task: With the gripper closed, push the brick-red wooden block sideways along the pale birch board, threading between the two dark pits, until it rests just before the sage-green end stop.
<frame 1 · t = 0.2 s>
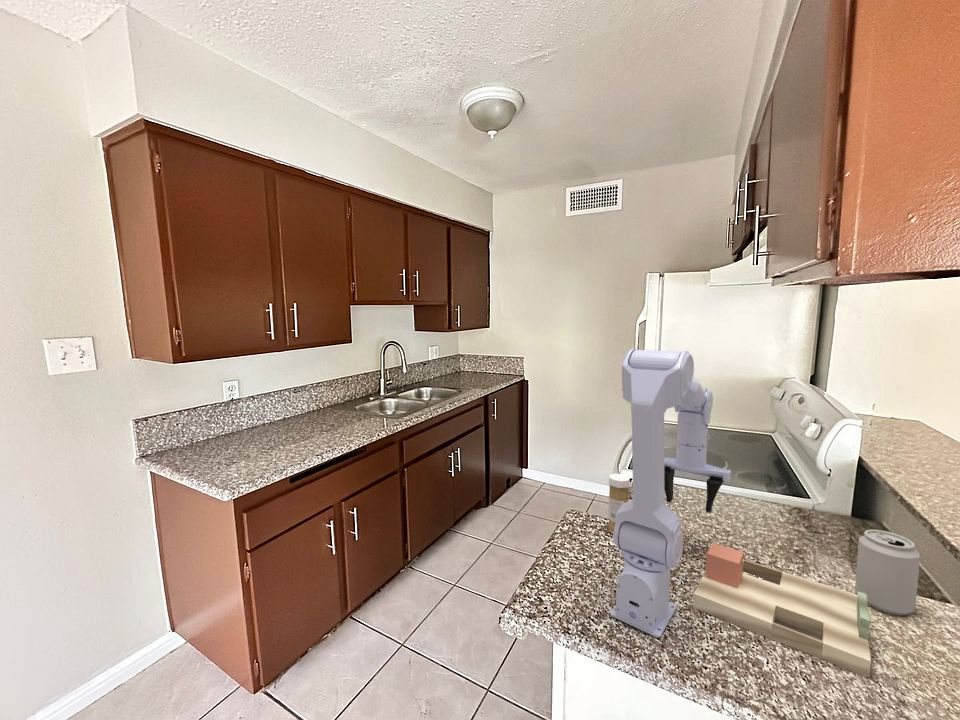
hand: (688, 505, 88), 10 cm above the worktop, tool pointing down, fingers open, 7 cm apart
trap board: (777, 608, 70), on the worktop
sprinkles bottle: (617, 533, 96), on the worktop
can: (883, 604, 72), on the worktop
block: (724, 576, 75), point 2 cm above the worktop, touching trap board
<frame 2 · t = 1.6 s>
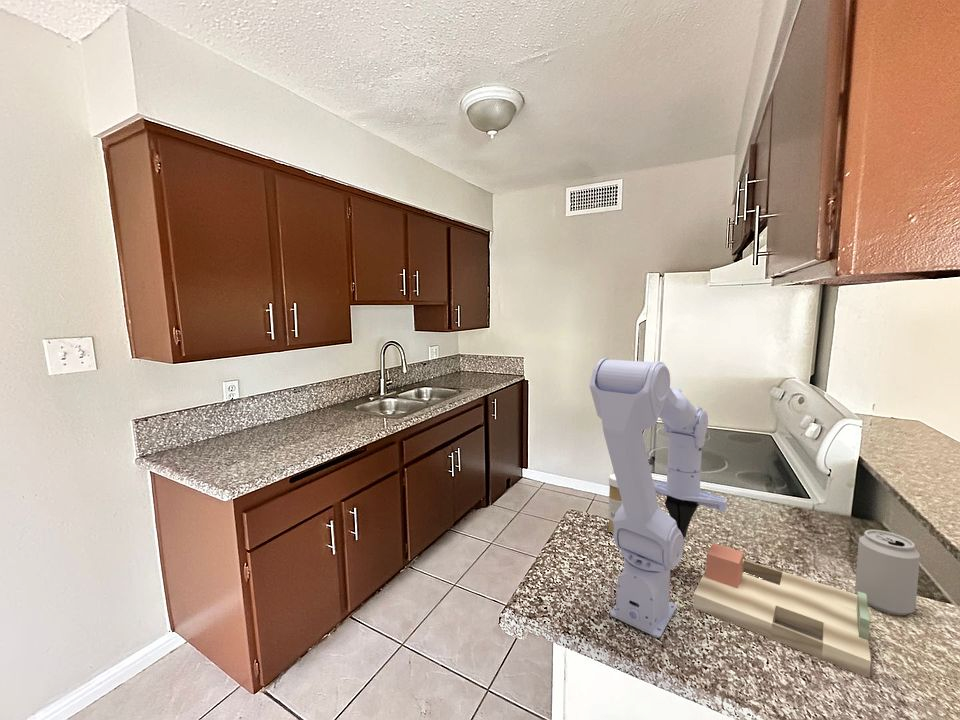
hand: (681, 536, 80), 8 cm above the worktop, tool pointing down, fingers closed
nothing on the worktop moved.
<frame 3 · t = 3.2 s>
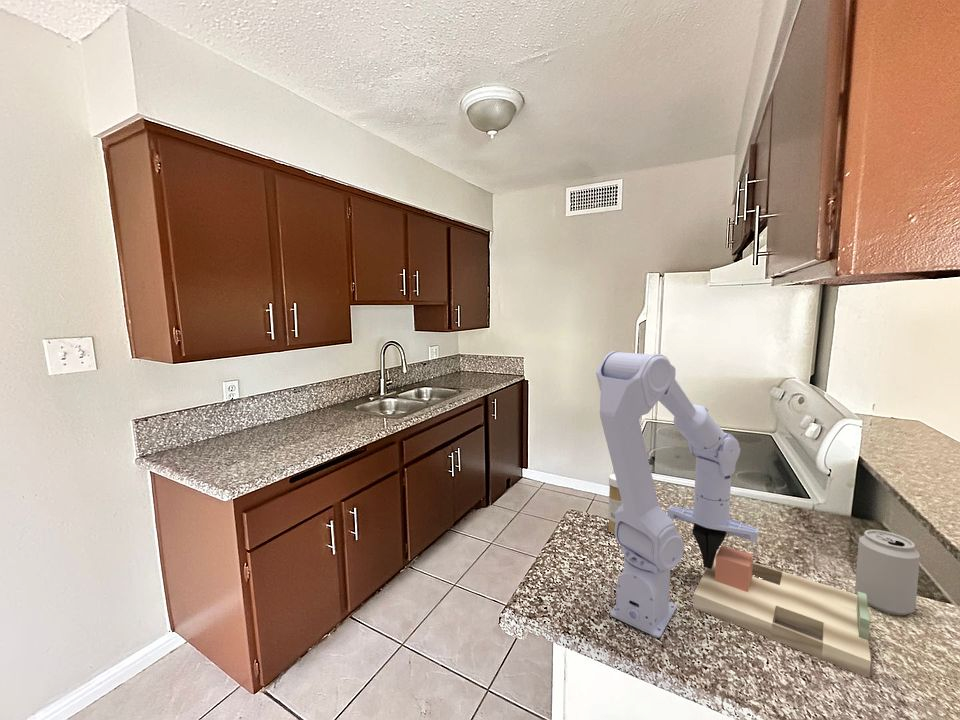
hand: (708, 565, 77), 4 cm above the worktop, tool pointing down, fingers closed
block: (733, 579, 74), point 3 cm above the worktop, touching gripper
everything else where it was.
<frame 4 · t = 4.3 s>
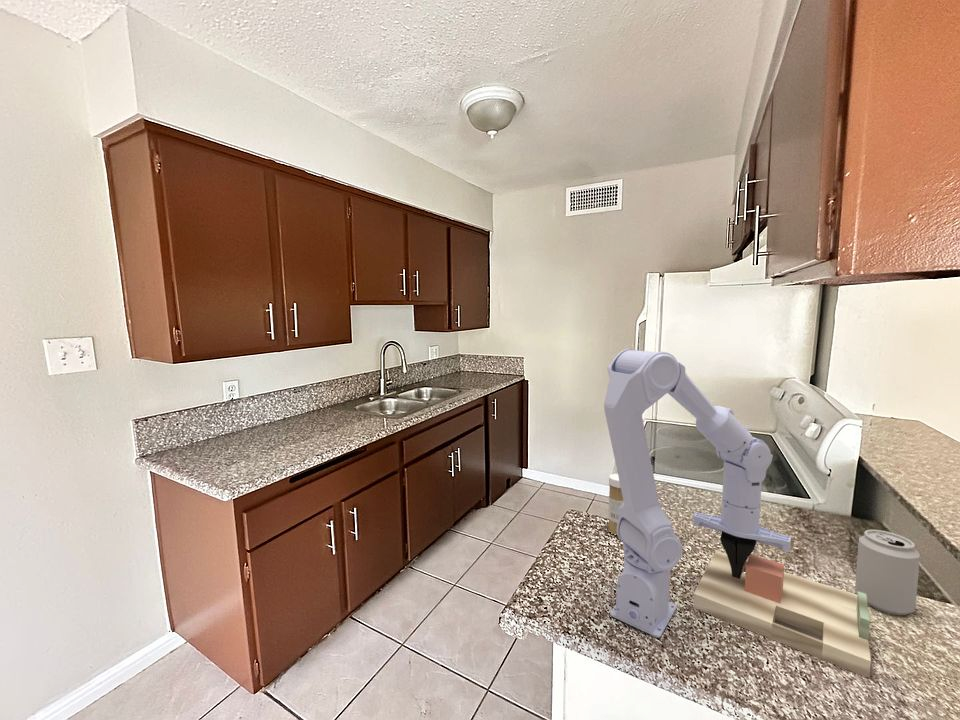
hand: (736, 575, 74), 4 cm above the worktop, tool pointing down, fingers closed
block: (763, 590, 71), point 2 cm above the worktop, touching gripper, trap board
everything else where it was.
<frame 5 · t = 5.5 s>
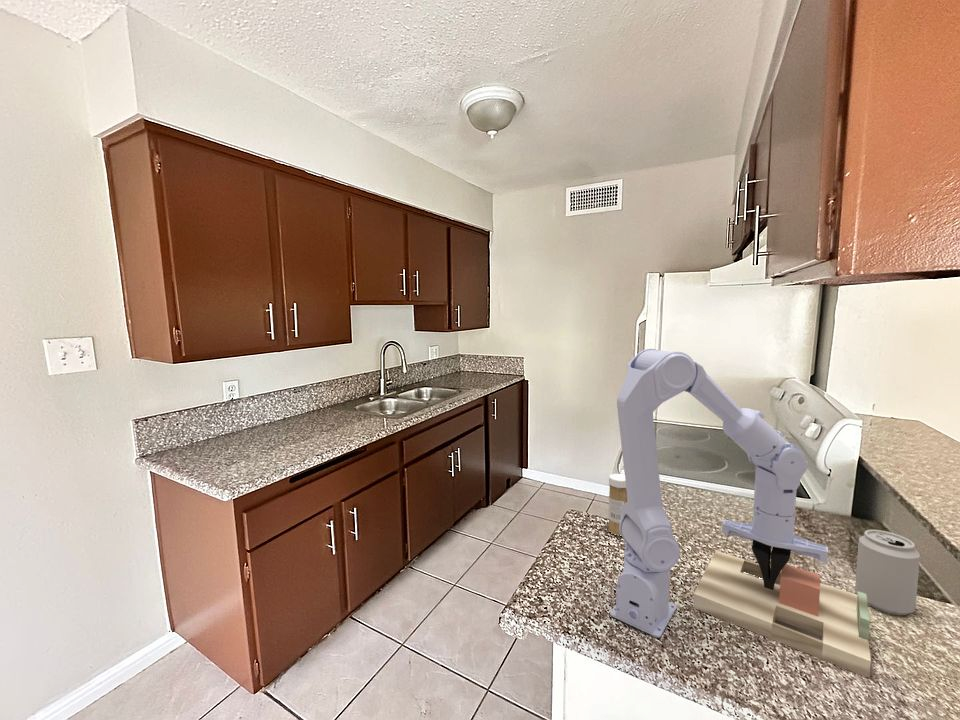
hand: (769, 586, 71), 4 cm above the worktop, tool pointing down, fingers closed
block: (798, 601, 68), point 3 cm above the worktop, touching gripper
everything else where it was.
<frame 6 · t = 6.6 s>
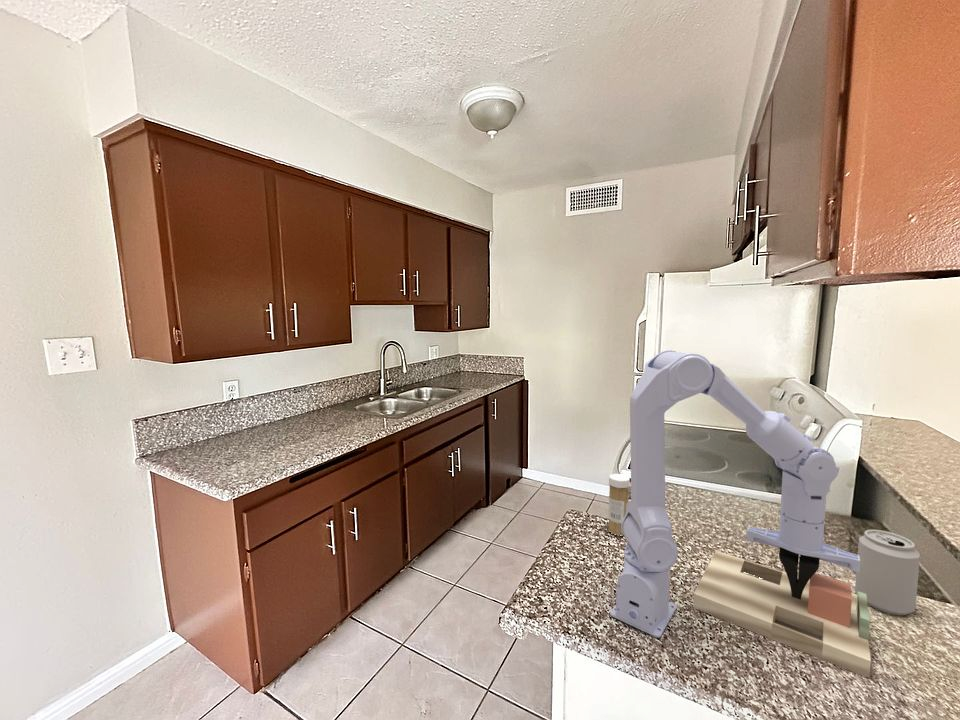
hand: (796, 595, 68), 4 cm above the worktop, tool pointing down, fingers closed
block: (828, 612, 66), point 2 cm above the worktop, touching gripper, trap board
everything else where it was.
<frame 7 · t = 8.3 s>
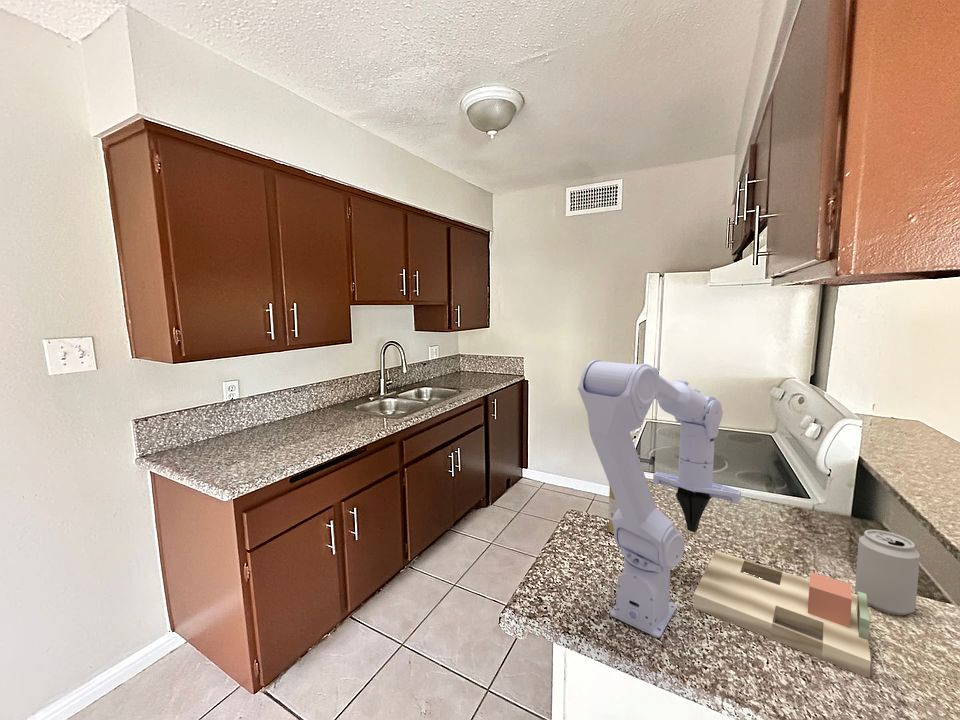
hand: (692, 529, 77), 10 cm above the worktop, tool pointing down, fingers closed
block: (828, 611, 66), point 2 cm above the worktop, touching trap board
everything else where it was.
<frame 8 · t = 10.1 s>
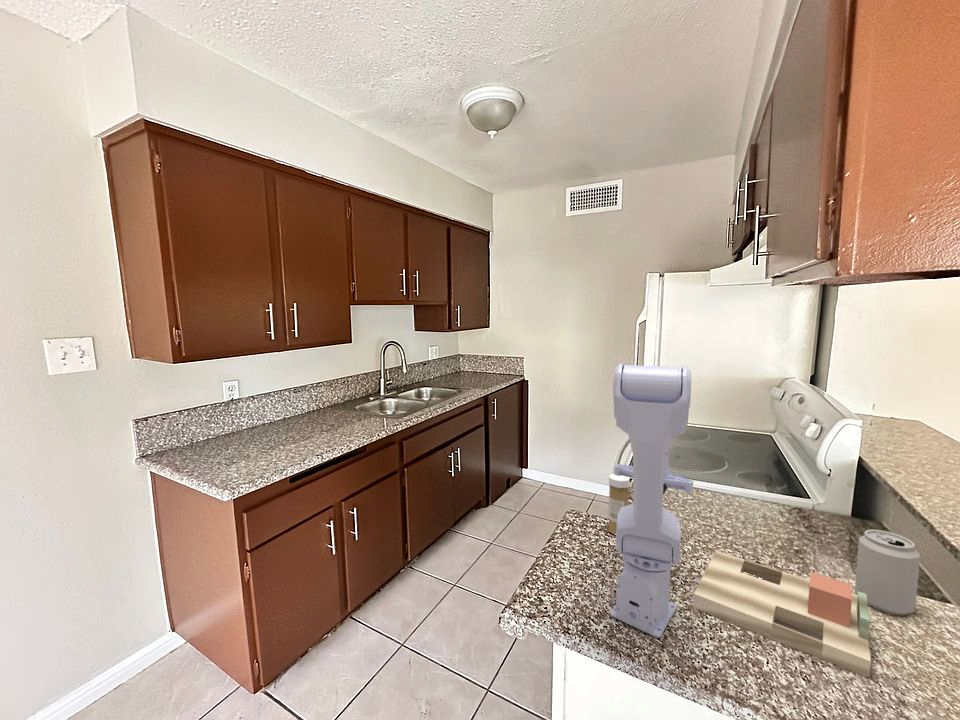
hand: (650, 517, 82), 10 cm above the worktop, tool pointing down, fingers closed
nothing on the worktop moved.
at the end: block inside the target area on the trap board (0.3 cm from its centre), point 2.5 cm above the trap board's base; block tilted 0° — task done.
